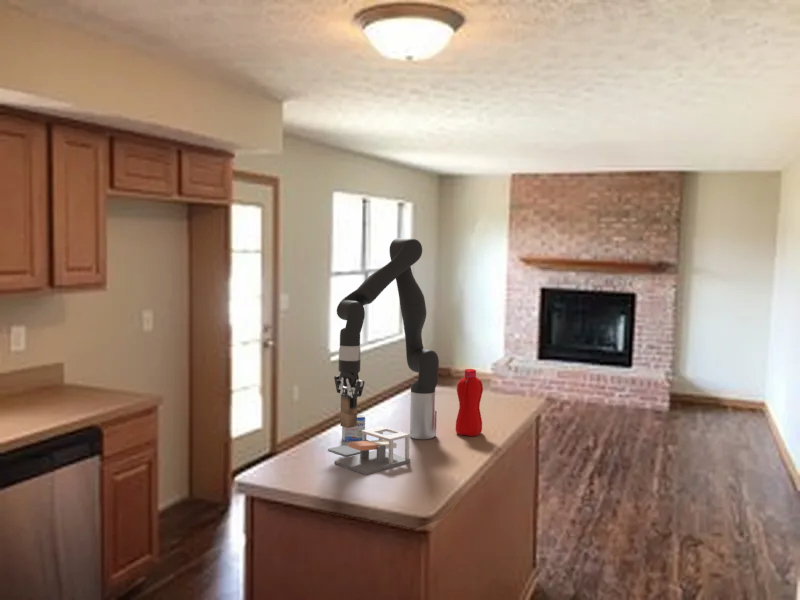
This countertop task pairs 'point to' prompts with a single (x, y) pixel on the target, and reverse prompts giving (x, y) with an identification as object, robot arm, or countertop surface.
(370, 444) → the rocker
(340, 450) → the mat
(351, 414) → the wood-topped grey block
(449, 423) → the countertop surface
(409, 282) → the robot arm
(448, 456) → the countertop surface
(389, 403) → the countertop surface
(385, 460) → the white square frame
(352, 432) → the medicine box
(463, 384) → the water bottle
